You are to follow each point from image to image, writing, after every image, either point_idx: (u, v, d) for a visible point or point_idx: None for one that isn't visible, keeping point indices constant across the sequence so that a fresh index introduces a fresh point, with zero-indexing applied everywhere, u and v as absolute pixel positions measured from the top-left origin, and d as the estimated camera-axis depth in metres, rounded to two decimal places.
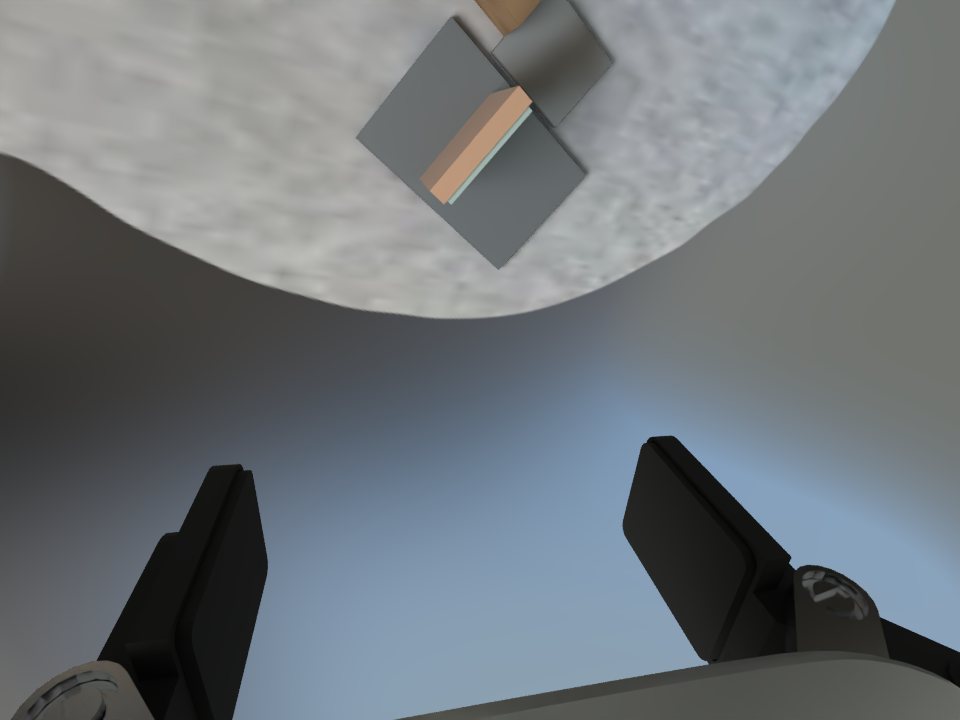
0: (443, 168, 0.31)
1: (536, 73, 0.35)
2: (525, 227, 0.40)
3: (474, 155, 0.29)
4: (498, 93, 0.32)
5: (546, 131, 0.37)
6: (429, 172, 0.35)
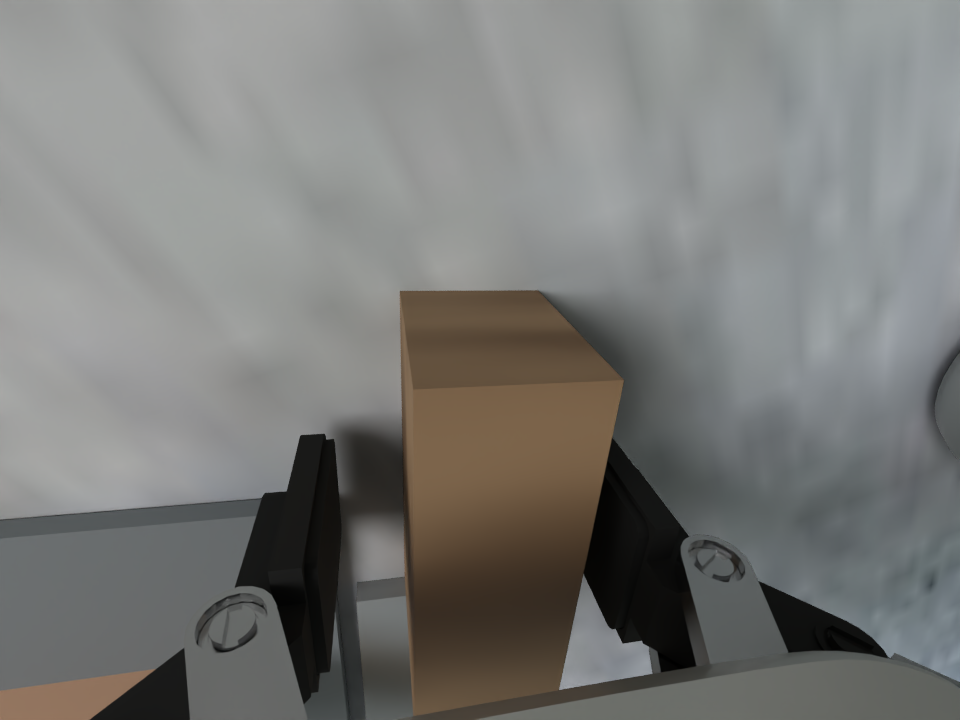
0: None
1: (406, 666, 0.15)
2: None
3: None
4: None
5: None
6: None
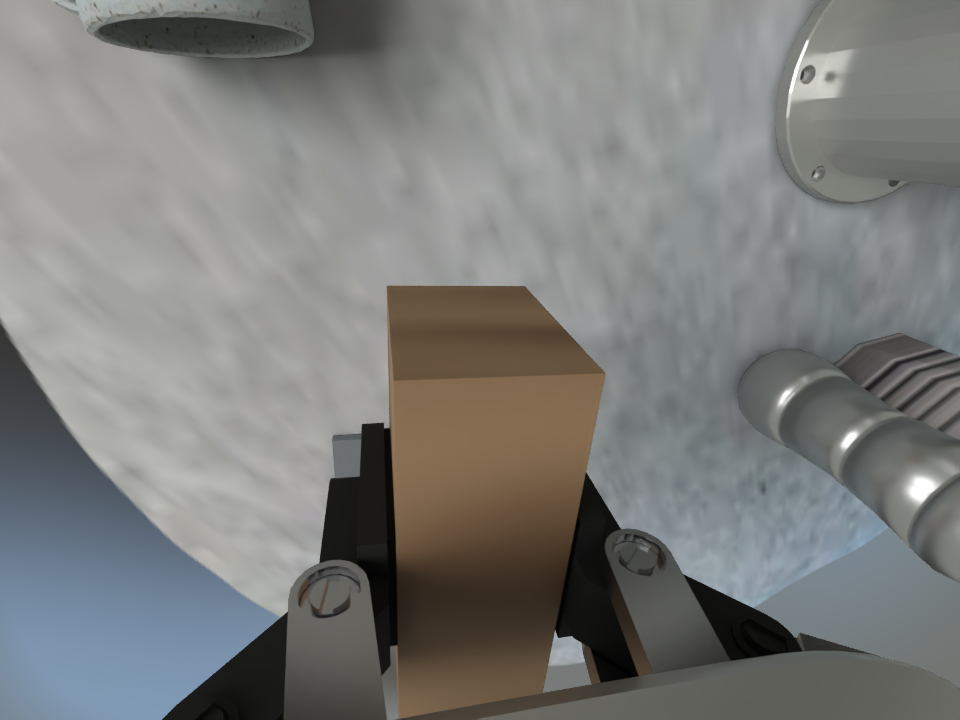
0: None
1: (394, 664, 0.15)
2: None
3: None
4: None
5: None
6: None
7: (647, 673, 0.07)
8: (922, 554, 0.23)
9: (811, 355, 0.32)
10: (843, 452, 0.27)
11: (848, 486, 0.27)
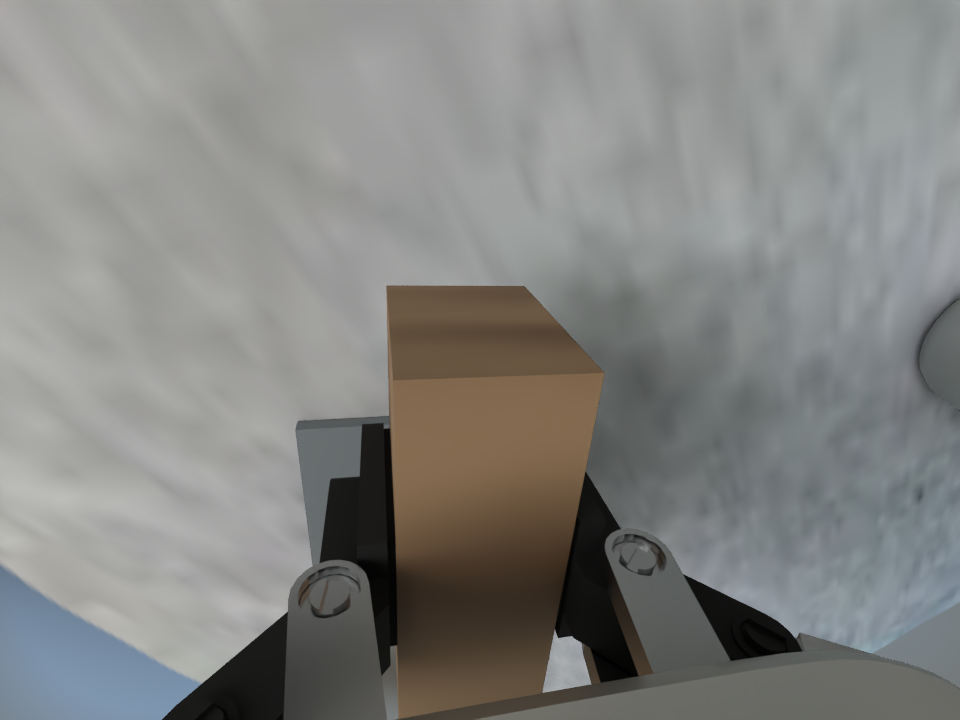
0: None
1: (394, 664, 0.15)
2: None
3: None
4: None
5: None
6: None
7: (647, 673, 0.07)
8: None
9: None
10: None
11: None
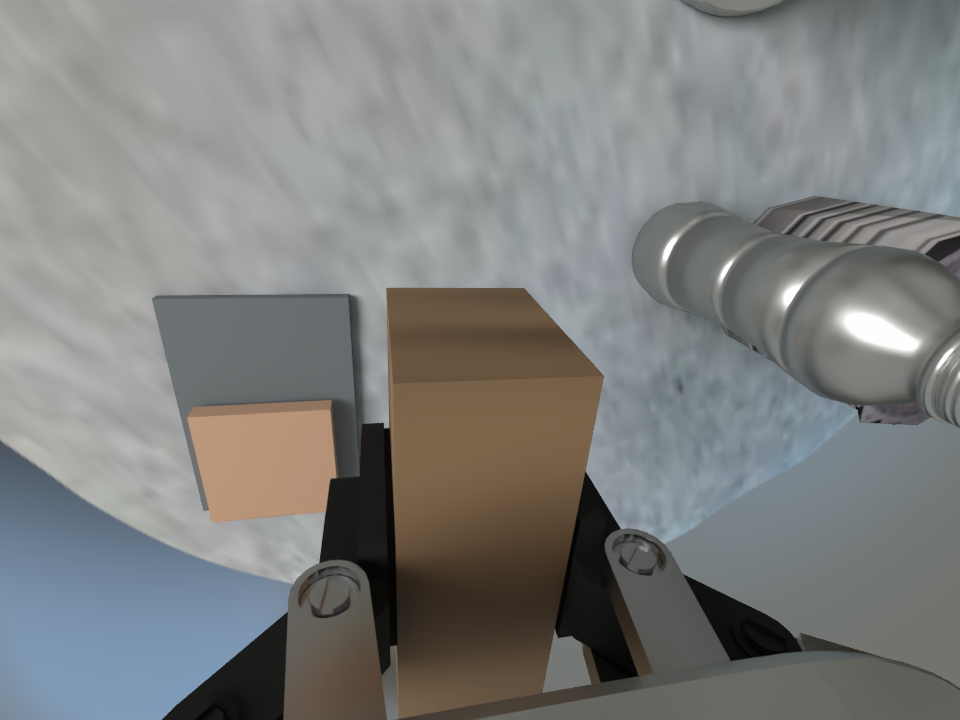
0: (234, 499, 0.31)
1: (393, 665, 0.15)
2: None
3: None
4: (330, 454, 0.31)
5: (355, 440, 0.33)
6: (210, 449, 0.29)
7: (647, 673, 0.07)
8: (794, 369, 0.19)
9: (704, 203, 0.28)
10: (722, 283, 0.23)
11: (729, 323, 0.23)
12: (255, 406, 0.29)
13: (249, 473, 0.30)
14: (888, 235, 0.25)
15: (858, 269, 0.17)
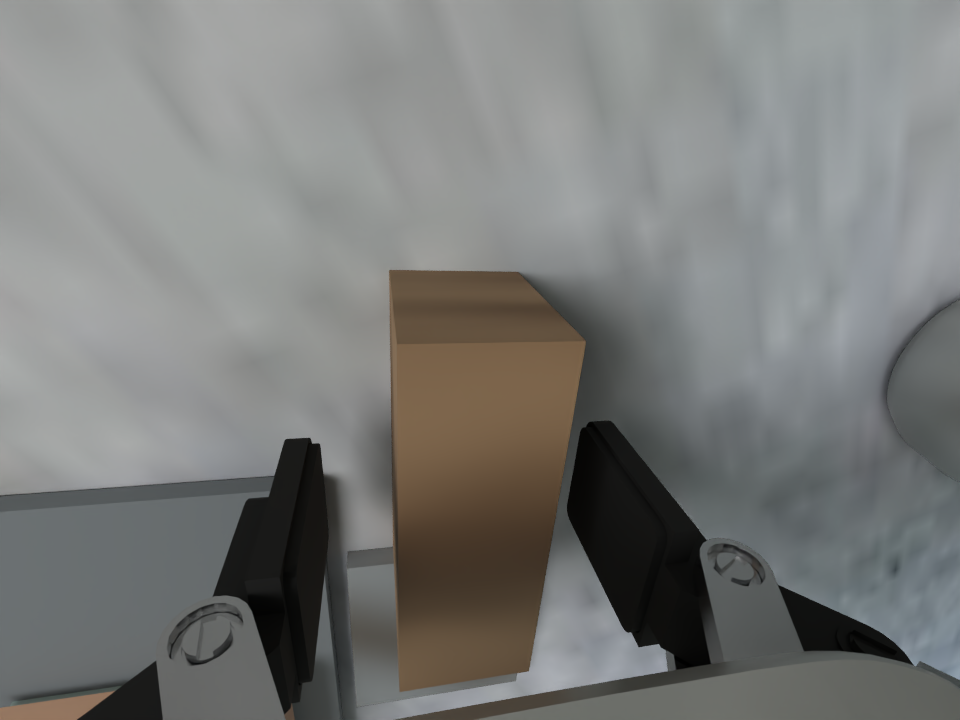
0: None
1: (393, 634, 0.16)
2: None
3: None
4: None
5: (335, 710, 0.17)
6: None
7: None
8: None
9: None
10: None
11: None
12: None
13: None
14: None
15: None
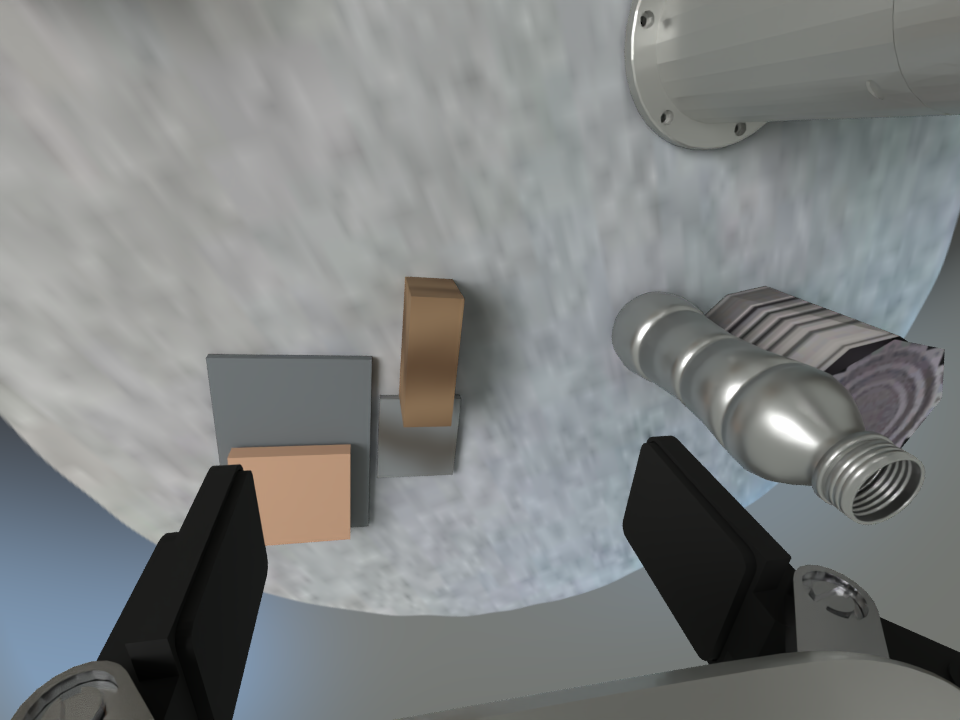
0: None
1: (397, 437, 0.36)
2: None
3: None
4: (346, 491, 0.36)
5: (367, 478, 0.37)
6: None
7: None
8: (731, 451, 0.25)
9: (672, 295, 0.34)
10: (681, 372, 0.29)
11: (686, 404, 0.29)
12: (285, 448, 0.34)
13: (275, 506, 0.35)
14: (815, 337, 0.31)
15: (777, 383, 0.23)
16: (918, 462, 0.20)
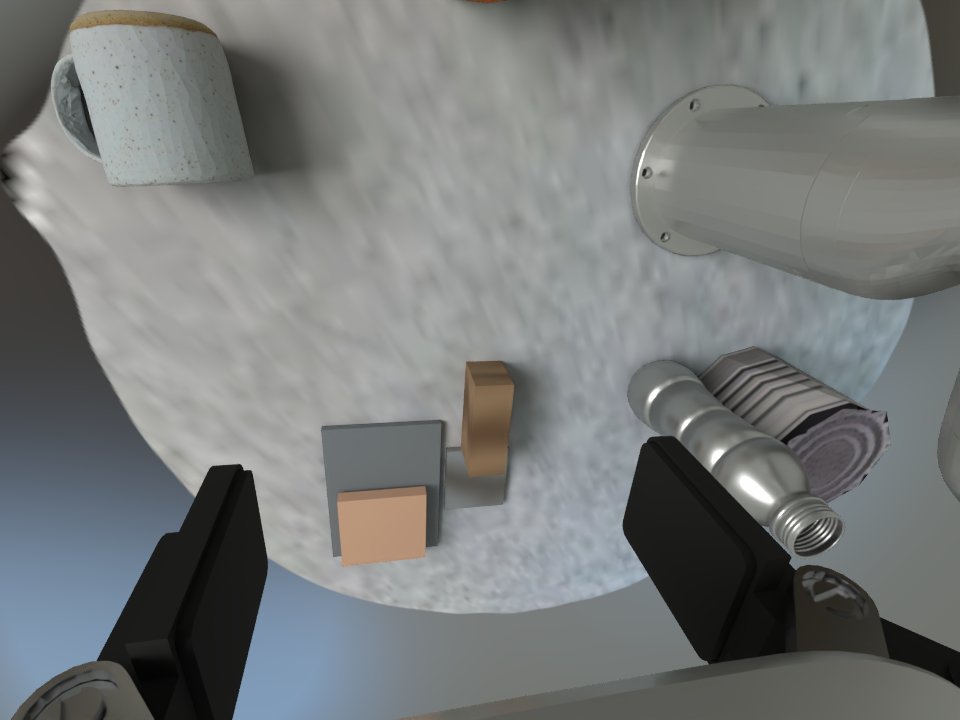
0: (358, 551, 0.46)
1: (460, 478, 0.47)
2: None
3: None
4: (423, 522, 0.46)
5: (437, 510, 0.48)
6: (348, 520, 0.44)
7: None
8: None
9: (675, 365, 0.43)
10: (681, 434, 0.38)
11: None
12: (377, 492, 0.44)
13: (370, 535, 0.45)
14: (786, 401, 0.40)
15: (746, 455, 0.32)
16: (838, 518, 0.29)
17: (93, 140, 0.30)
